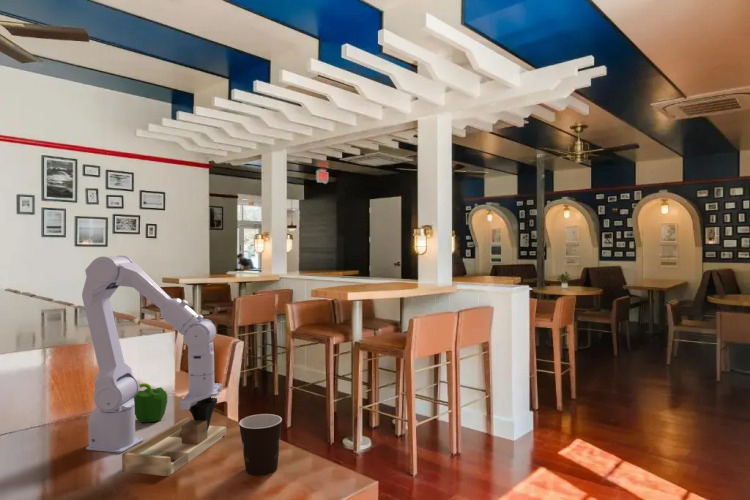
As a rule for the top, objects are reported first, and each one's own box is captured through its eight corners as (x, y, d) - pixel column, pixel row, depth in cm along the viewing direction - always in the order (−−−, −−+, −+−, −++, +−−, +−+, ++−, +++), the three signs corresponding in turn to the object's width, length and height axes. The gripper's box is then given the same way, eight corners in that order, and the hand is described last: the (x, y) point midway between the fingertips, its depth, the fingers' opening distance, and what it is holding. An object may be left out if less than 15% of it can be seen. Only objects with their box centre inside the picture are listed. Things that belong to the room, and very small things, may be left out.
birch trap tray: (122, 471, 107) (121, 454, 107) (186, 431, 129) (186, 417, 129) (168, 476, 104) (168, 458, 104) (226, 434, 127) (226, 420, 127)
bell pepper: (172, 414, 143) (171, 378, 143) (161, 424, 134) (160, 386, 134) (141, 415, 142) (140, 379, 142) (128, 425, 134) (127, 387, 134)
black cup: (273, 480, 102) (272, 429, 102) (232, 476, 104) (231, 427, 104) (294, 456, 113) (293, 410, 113) (257, 453, 115) (256, 408, 115)
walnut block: (181, 443, 116) (181, 425, 116) (191, 436, 120) (191, 419, 120) (197, 444, 115) (197, 427, 115) (207, 438, 119) (207, 420, 119)
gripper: (199, 382, 113) (200, 444, 113) (232, 366, 127) (233, 421, 127) (170, 380, 115) (172, 441, 115) (206, 365, 129) (207, 419, 129)
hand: (202, 431), depth 121 cm, fingers closed
